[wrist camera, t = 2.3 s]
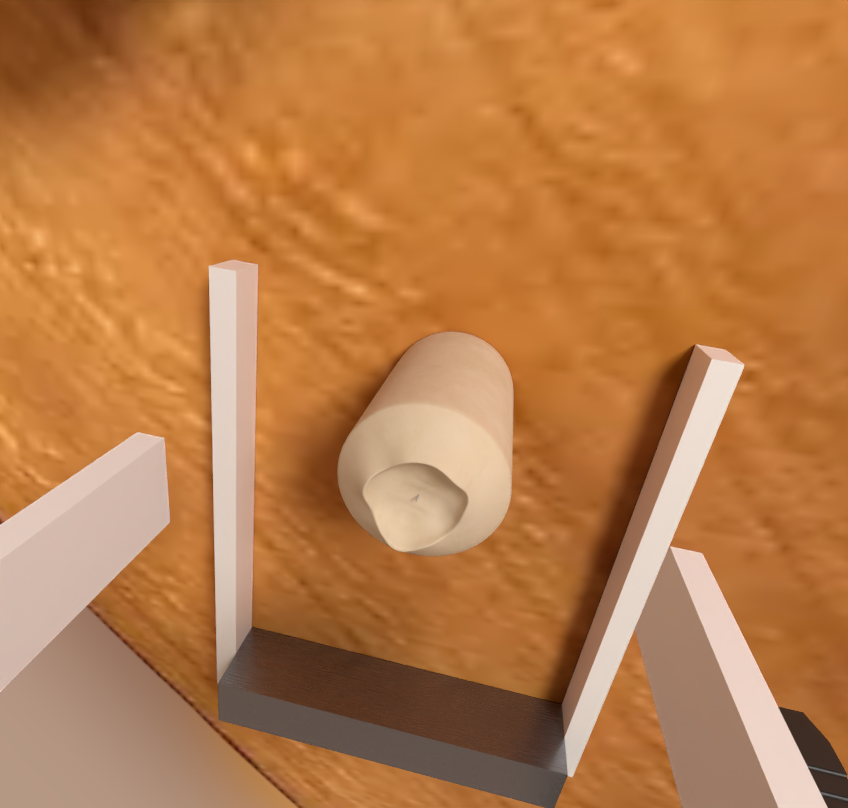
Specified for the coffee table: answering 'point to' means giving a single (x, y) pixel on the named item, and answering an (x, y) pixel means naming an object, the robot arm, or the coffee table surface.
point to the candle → (434, 449)
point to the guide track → (403, 685)
